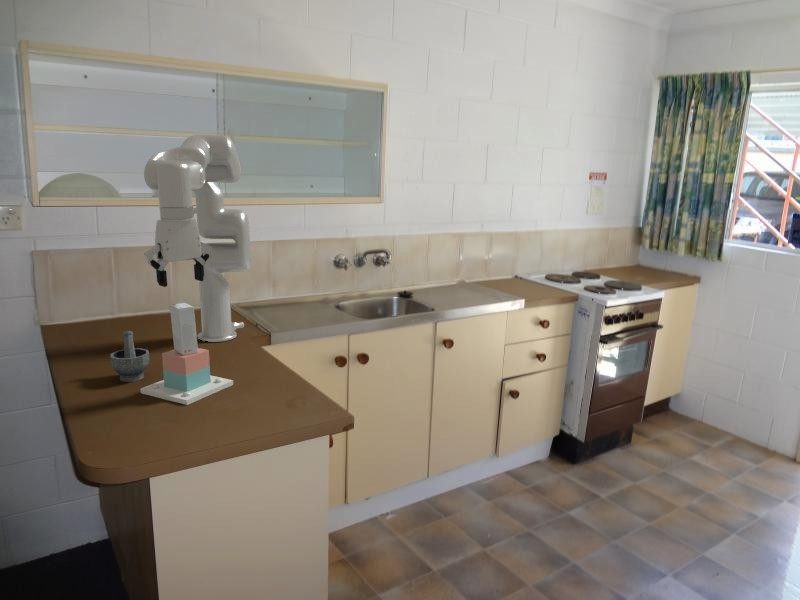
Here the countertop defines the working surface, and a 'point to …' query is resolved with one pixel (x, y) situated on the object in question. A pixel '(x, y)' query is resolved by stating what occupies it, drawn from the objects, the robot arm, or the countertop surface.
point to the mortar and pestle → (130, 360)
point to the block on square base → (186, 378)
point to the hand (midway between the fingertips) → (181, 283)
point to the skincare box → (184, 328)
